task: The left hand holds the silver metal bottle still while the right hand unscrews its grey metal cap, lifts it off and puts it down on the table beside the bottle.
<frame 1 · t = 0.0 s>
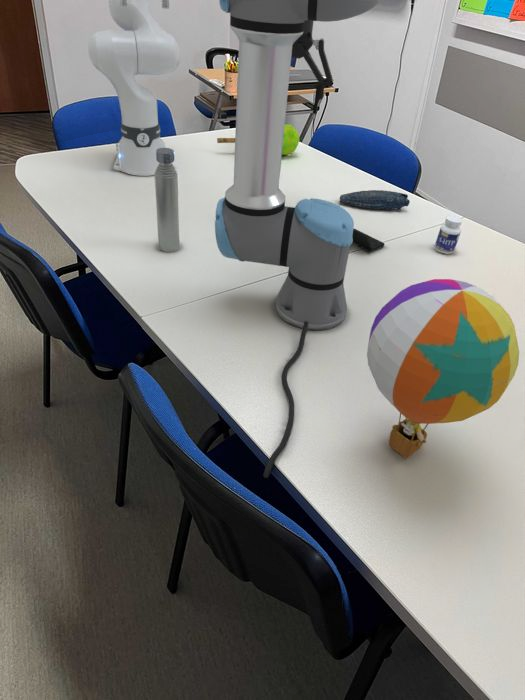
left hand: (144, 7, 118), 48 cm above the table, tool pointing down, fingers open, 8 cm apart
right hand: (288, 109, 135), 28 cm above the table, tool pointing down, fingers open, 13 cm apart
handheld gaming console: (357, 243, 139), on the table
fish model: (372, 206, 160), on the table
decorative tree: (258, 154, 190), on the table
toy: (403, 449, 84), on the table
bottle: (169, 247, 130), on the table
cap: (165, 151, 116), point 24 cm above the table, screwed on, not yet turned
pill bottle: (443, 250, 140), on the table
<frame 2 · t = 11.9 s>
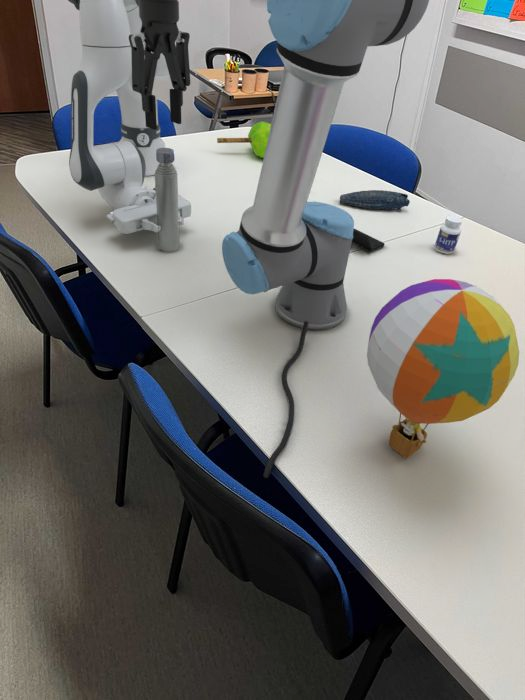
left hand: (170, 225, 126), 6 cm above the table, tool horizontal, fingers closed on bottle, 5 cm apart
right hand: (163, 124, 112), 29 cm above the table, tool pointing down, fingers open, 6 cm apart
bottle: (169, 247, 130), on the table, touching left hand
everything else where it was.
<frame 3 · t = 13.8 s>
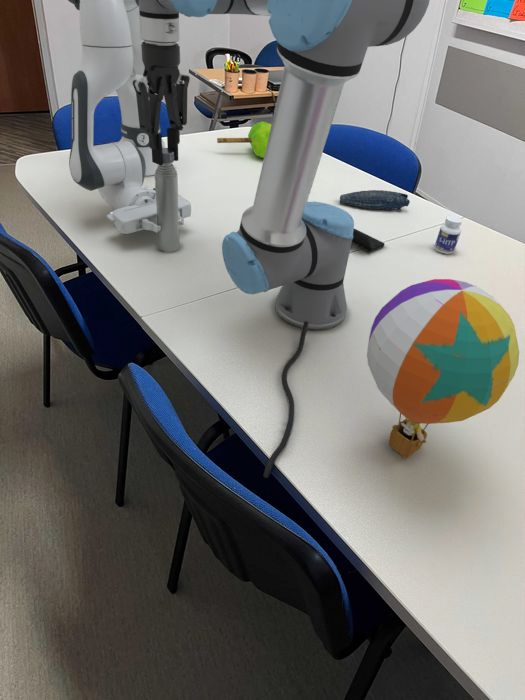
left hand: (170, 225, 126), 6 cm above the table, tool horizontal, fingers closed on bottle, 5 cm apart
right hand: (165, 161, 117), 22 cm above the table, tool pointing down, fingers closed on cap, 4 cm apart
bottle: (169, 247, 130), on the table, touching left hand
cap: (165, 151, 116), point 24 cm above the table, screwed on, not yet turned, touching right hand
everything else where it was.
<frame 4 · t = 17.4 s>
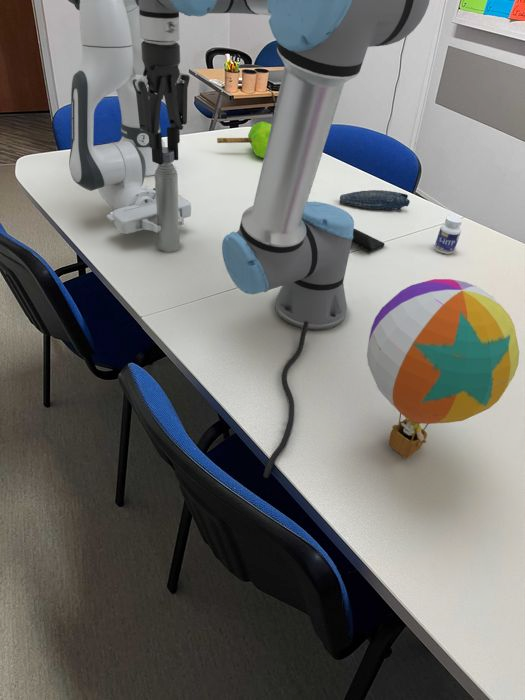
left hand: (170, 225, 126), 6 cm above the table, tool horizontal, fingers closed on bottle, 5 cm apart
right hand: (165, 160, 117), 22 cm above the table, tool pointing down, fingers closed on cap, 4 cm apart
bottle: (169, 247, 130), on the table, touching left hand
cap: (165, 151, 116), point 24 cm above the table, turned 130° so far, risen 0.1 cm, still on its thread, touching right hand
everything else where it was.
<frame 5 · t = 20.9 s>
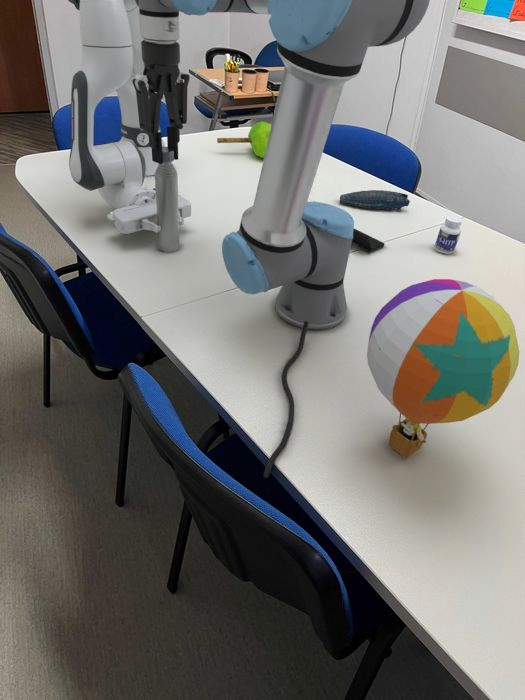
left hand: (170, 225, 126), 6 cm above the table, tool horizontal, fingers closed on bottle, 5 cm apart
right hand: (165, 159, 117), 22 cm above the table, tool pointing down, fingers closed on cap, 4 cm apart
bottle: (169, 247, 130), on the table, touching left hand
cap: (165, 150, 115), point 24 cm above the table, turned 260° so far, risen 0.3 cm, still on its thread, touching right hand
everything else where it was.
when the right hand's fingers open (1 cm above the table, at t = 30.8 s): cap stays where it is, point 2 cm above the table.
when the left hand's fingers open (6 cm above the table, at t = 32.2 s): bottle stays where it is, on the table.
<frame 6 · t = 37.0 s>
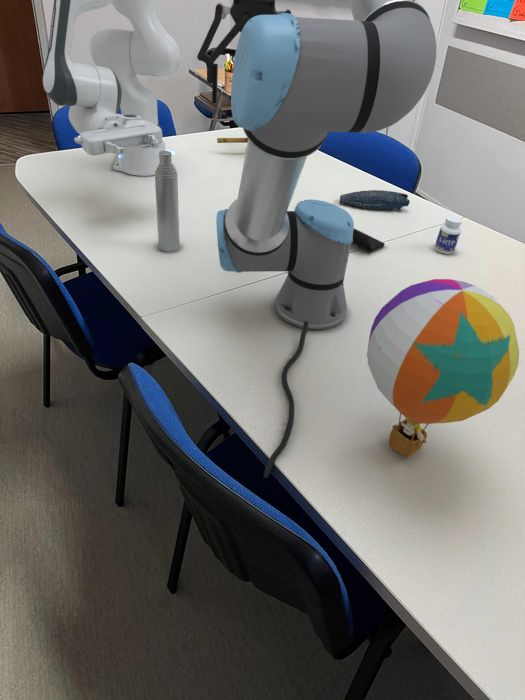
left hand: (139, 148, 123), 21 cm above the table, tool horizontal, fingers open, 8 cm apart
right hand: (248, 104, 104), 36 cm above the table, tool pointing down, fingers open, 13 cm apart
bottle: (169, 247, 130), on the table
cap: (240, 256, 125), point 2 cm above the table, off its thread
everything else where it was.
at the end: cap came off its thread; cap point 1.9 cm above the table; the left hand is holding nothing; the right hand is holding nothing; bottle tilted 0°; bottle moved 0.0 cm from its start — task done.
